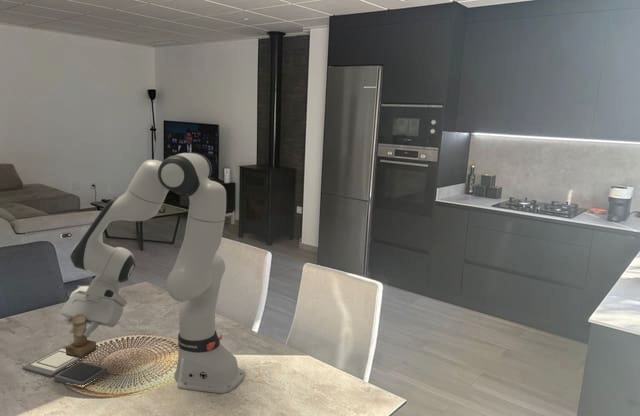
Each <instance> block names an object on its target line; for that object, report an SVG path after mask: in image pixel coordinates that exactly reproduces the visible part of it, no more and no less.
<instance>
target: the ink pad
mask: <svg viewBox="0 0 640 416" xmlns="http://www.w3.org/2000/svg"><path fill="white" fill-rule="evenodd" d="M106 374H108V368H107V367H104V366H101V365H97V364H92V363H88V362H85V361H82V360H81V361H79V362H77V363H76V364H74V365H72V366H70V367H69V368H67V369H65V370H63V371H62V372H60V373H58V374H56V375H54V376H53V378H54V381H55V382H57V383H60V384H65V385H67V384H66V383H70V384H77V385H81V386H82V385H85V384H87V383H89V382H91V381H93V380H94V379H96V378H98V377H100V376H101V377H103V376H104V375H106ZM102 375H103V376H102ZM101 377H100V378H101ZM98 379H99V378H98Z"/></svg>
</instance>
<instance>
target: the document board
mask: <svg viewBox="0 0 640 416" xmlns="http://www.w3.org/2000/svg"><path fill="white" fill-rule="evenodd" d="M66 346H67V345H63V346H61V347H59V348H57V349H54V350H53V351H51V352H49V353H47V354H45V355H44V356H42V357H39V358H37V359H36V360H33V361H32V362H30V363H28V364H26V365H24V366H22V370H24V371H27V372H30V373H35V374H37V375H40V376H44V377H45V376H46V377H48V378H54V376H55V375H57V374H59V373H60V372H62V371H64V369H65V368H66V367H67V366H69V365H71V364H73V363H75V362H77V361H79V360H80V358H76V357H72V356H68V355H66ZM90 354H91V355H92V353H90ZM87 356H88V355H87ZM88 357H89V356H88ZM83 358H84V357H83ZM84 359H85V358H84ZM79 362H80V361H79ZM77 363H78V362H77ZM65 370H66V369H65Z"/></svg>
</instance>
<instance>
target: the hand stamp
mask: <svg viewBox="0 0 640 416" xmlns="http://www.w3.org/2000/svg"><path fill="white" fill-rule="evenodd" d="M72 324H73V333H74V334H73V342H71V343H70V344H68V345H65V346H66V355H68V356H72V357H76V358H80V359H82V358H83V357H85V356H87V355H89V354H90V353H91V354H92V353H94V352H95V351H97V341H94V340H90V339H88V337H84V336H82V333H83V331H84V329H85V330H86V329H87V322H86V317H85V316H84V315H83V314H77V315H75V316H74V317H73V319H71V325H72Z"/></svg>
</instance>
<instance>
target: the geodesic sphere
mask: <svg viewBox="0 0 640 416" xmlns="http://www.w3.org/2000/svg"><path fill="white" fill-rule="evenodd" d="M76 286H77V288H76V289H75V290H73V291H72V292H71V293H70V297H71V296H72V295H73V294H74V293H76V292H78V291H84V292H86V291H87V289H88V287H89V286H90V285H89V284H87V285H82V284H81V285H80V284H78V285H76ZM70 297H69V298H70Z"/></svg>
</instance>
